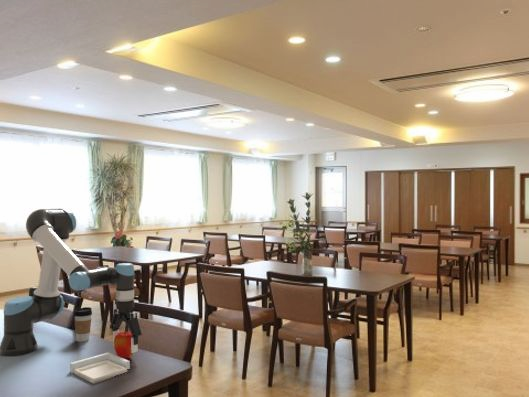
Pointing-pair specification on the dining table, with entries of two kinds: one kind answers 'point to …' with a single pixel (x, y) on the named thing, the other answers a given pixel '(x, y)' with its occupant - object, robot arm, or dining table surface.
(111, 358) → the pen walls
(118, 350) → the apple
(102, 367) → the dish
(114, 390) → the dining table surface
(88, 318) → the coffee cup
